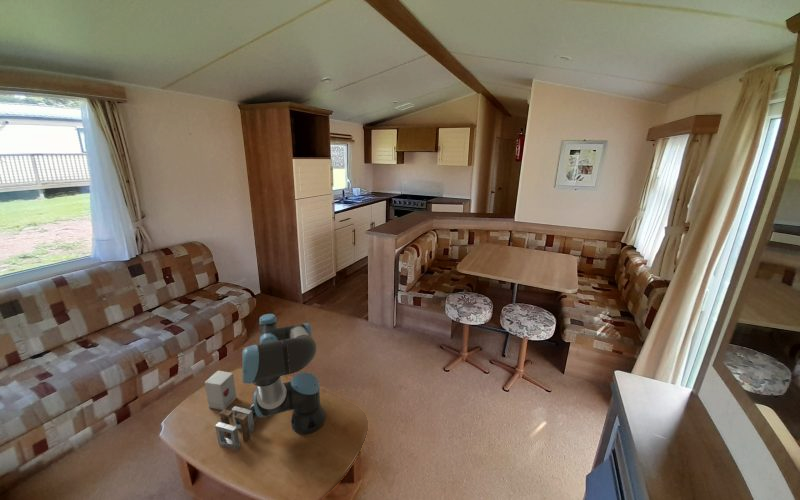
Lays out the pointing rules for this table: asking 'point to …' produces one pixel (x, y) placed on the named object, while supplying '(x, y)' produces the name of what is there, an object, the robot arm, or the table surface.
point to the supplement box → (220, 390)
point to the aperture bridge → (239, 417)
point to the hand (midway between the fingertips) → (275, 384)
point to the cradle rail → (255, 417)
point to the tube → (252, 408)
